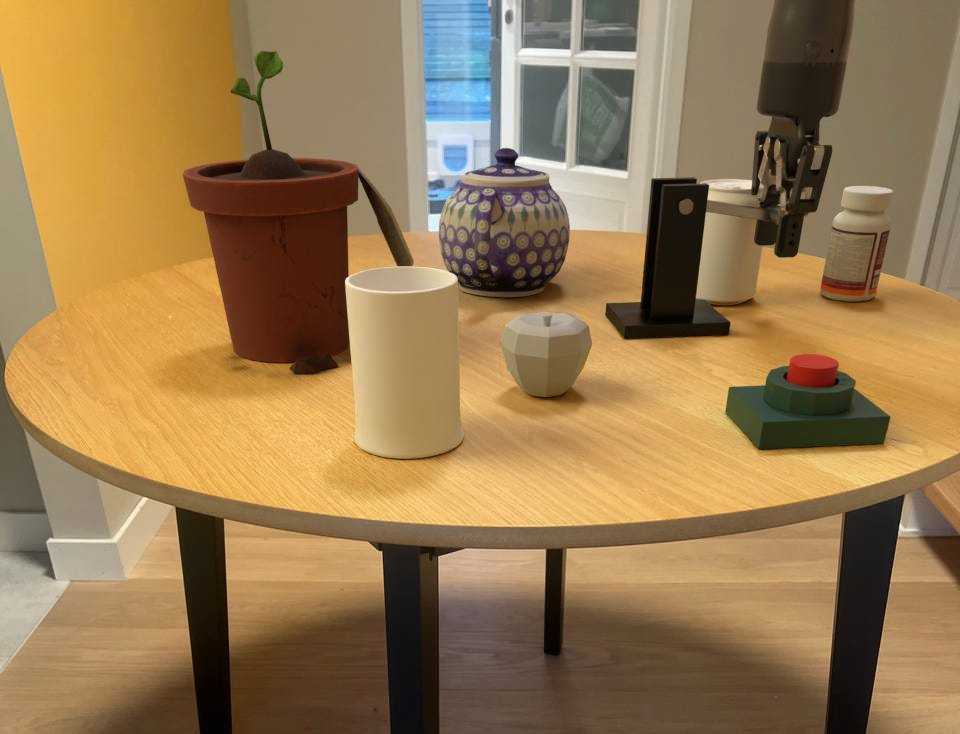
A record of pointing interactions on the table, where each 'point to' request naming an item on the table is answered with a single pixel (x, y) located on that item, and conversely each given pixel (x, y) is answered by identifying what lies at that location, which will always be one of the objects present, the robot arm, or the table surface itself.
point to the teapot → (504, 230)
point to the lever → (745, 211)
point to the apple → (546, 351)
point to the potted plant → (285, 244)
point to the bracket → (671, 268)
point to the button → (812, 370)
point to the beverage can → (729, 247)
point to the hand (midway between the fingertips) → (774, 249)
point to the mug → (405, 360)
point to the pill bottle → (857, 244)
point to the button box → (805, 413)
